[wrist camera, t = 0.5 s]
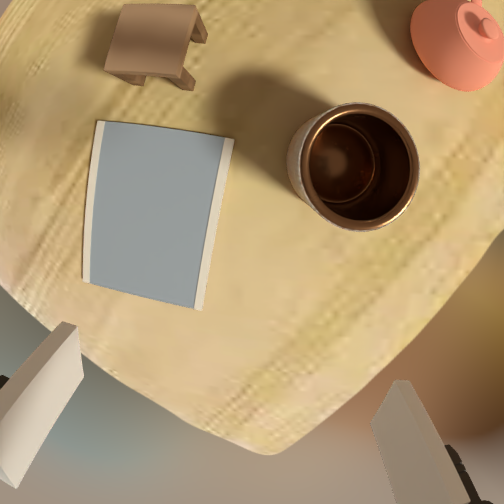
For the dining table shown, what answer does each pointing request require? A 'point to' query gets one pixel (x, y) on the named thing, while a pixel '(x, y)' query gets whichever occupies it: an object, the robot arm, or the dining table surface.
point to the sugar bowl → (458, 42)
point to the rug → (153, 210)
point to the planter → (354, 166)
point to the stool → (154, 43)
